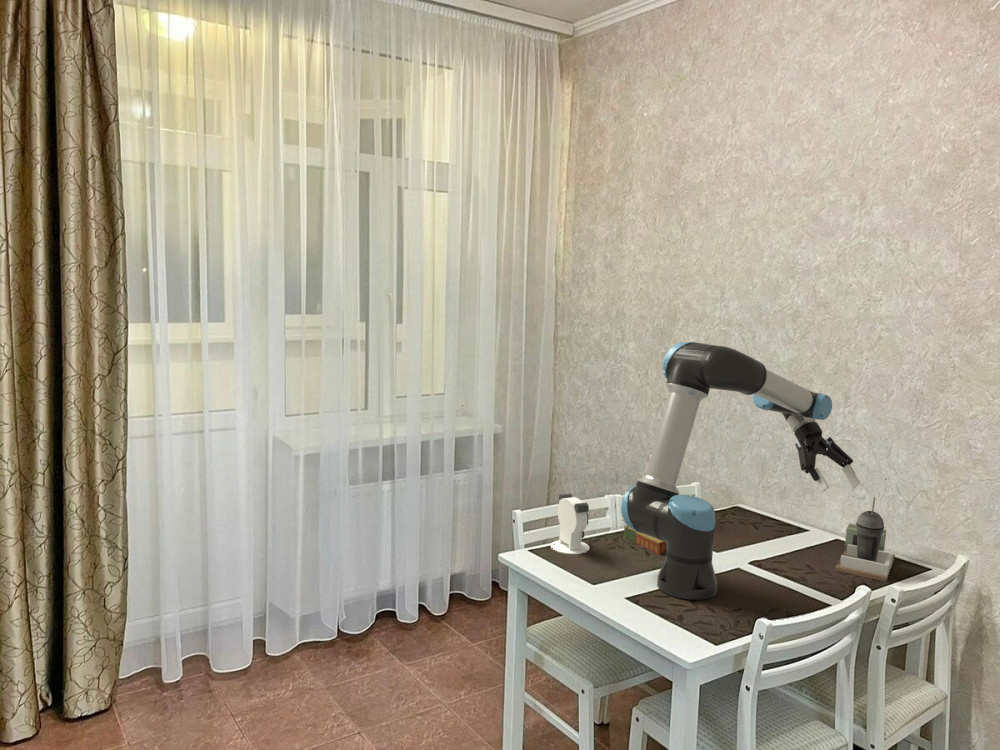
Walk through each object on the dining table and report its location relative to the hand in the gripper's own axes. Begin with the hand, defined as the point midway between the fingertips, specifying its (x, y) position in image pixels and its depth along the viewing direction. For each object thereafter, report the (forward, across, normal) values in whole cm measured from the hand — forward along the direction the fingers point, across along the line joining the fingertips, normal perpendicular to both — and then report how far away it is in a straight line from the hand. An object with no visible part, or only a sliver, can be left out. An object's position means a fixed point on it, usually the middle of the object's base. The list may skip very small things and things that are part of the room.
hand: (841, 487), depth 228 cm
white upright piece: (-10, +70, -41) cm, 81 cm away
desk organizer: (+21, -3, -8) cm, 22 cm away
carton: (-5, +45, -36) cm, 58 cm away
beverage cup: (+22, 0, -6) cm, 22 cm away
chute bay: (+22, 0, -7) cm, 23 cm away
